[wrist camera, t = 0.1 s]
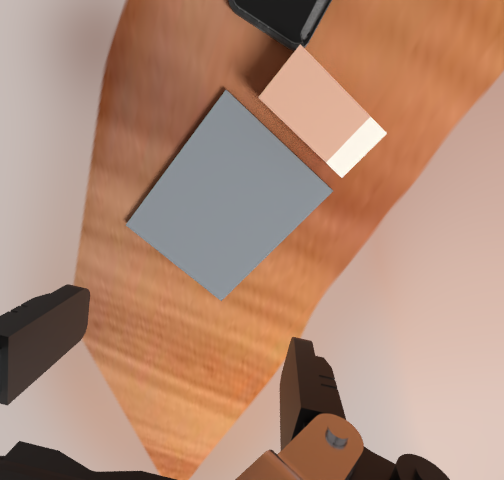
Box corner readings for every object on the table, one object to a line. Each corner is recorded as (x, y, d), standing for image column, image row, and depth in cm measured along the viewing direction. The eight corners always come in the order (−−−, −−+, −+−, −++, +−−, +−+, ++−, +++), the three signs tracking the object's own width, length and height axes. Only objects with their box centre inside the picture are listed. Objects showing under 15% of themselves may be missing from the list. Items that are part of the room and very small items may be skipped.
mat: (227, 90, 29) (225, 89, 28) (332, 189, 31) (333, 191, 31) (128, 223, 35) (125, 225, 34) (222, 298, 37) (221, 301, 37)
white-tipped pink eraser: (261, 99, 29) (258, 97, 26) (298, 53, 27) (300, 44, 24) (336, 171, 31) (341, 178, 27) (375, 131, 29) (386, 133, 26)
